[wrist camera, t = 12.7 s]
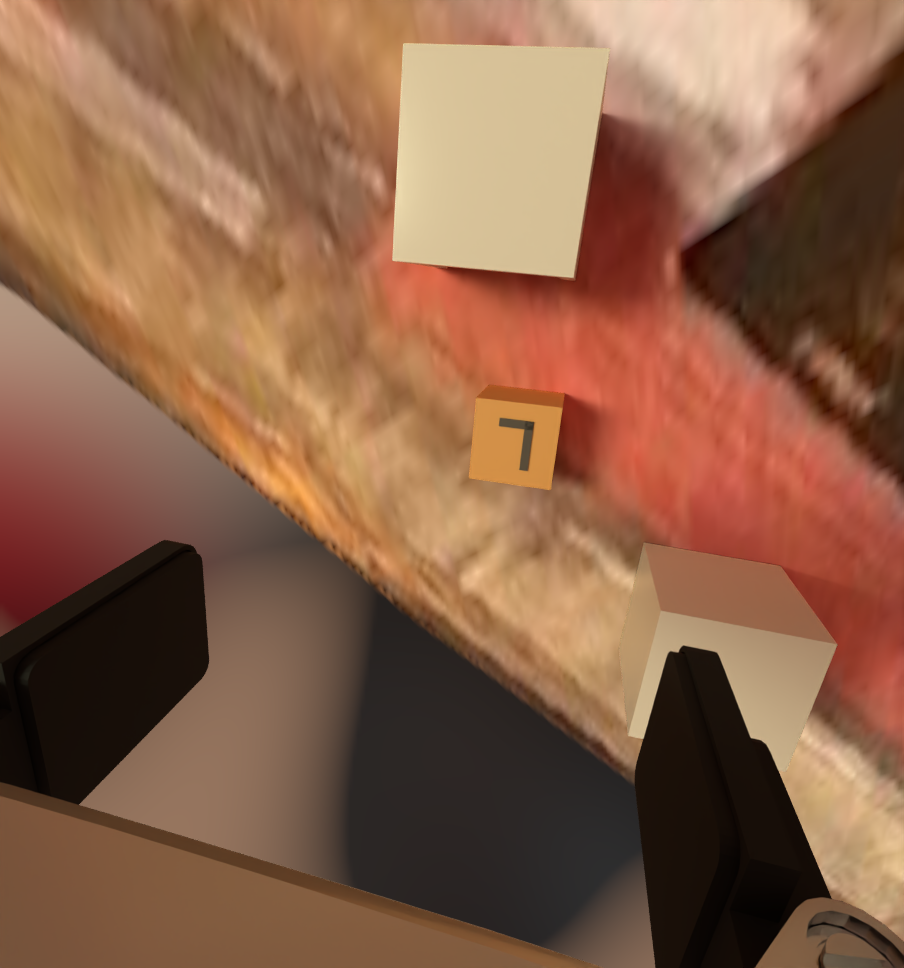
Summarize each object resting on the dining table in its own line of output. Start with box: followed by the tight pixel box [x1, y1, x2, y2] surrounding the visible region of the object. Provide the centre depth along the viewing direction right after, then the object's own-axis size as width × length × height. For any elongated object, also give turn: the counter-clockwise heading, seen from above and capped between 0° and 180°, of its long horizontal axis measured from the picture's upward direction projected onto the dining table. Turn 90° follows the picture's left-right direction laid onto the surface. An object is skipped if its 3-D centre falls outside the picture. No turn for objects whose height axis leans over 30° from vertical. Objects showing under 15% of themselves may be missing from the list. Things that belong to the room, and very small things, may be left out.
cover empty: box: [619, 542, 838, 772], centre depth 28 cm, size 7×7×7 cm
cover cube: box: [392, 43, 610, 281], centre depth 23 cm, size 7×7×7 cm
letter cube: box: [469, 385, 565, 490], centre depth 28 cm, size 4×4×4 cm
